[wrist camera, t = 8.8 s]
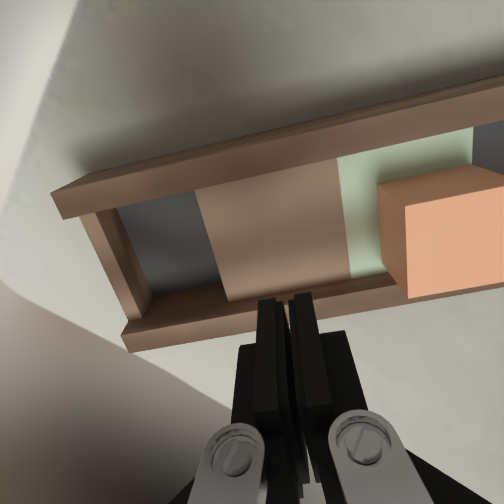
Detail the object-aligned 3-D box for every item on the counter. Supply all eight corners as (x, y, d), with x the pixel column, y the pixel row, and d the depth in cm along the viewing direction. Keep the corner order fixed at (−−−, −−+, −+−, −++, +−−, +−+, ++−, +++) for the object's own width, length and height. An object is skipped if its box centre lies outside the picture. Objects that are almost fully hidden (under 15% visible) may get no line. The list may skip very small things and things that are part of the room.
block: (376, 183, 19) (405, 206, 15) (470, 164, 18) (523, 182, 15) (381, 262, 21) (408, 298, 17) (466, 246, 20) (511, 280, 17)
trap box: (88, 173, 22) (49, 193, 18) (576, 56, 19) (665, 47, 15) (148, 312, 26) (129, 353, 22) (547, 237, 23) (610, 268, 19)
